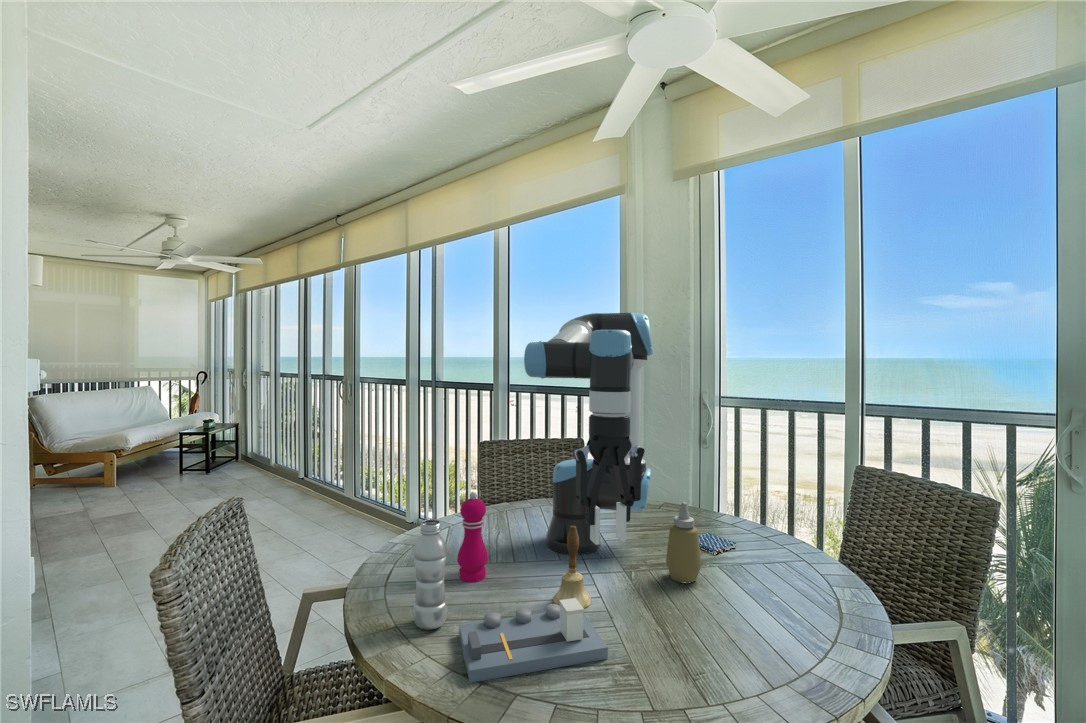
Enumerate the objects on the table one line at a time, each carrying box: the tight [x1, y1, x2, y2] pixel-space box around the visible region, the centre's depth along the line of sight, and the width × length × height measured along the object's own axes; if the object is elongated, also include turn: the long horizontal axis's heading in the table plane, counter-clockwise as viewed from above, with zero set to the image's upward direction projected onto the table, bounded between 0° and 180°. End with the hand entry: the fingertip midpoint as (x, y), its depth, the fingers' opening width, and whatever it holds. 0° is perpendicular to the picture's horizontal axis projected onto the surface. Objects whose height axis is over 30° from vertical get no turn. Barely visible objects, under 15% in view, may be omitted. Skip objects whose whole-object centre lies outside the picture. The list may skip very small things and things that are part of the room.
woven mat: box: [699, 532, 737, 555], centre depth 138 cm, size 10×11×2 cm
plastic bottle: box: [412, 519, 448, 631], centre depth 96 cm, size 6×7×20 cm
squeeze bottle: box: [665, 501, 702, 584], centre depth 118 cm, size 8×8×18 cm
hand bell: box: [552, 526, 593, 609], centre depth 106 cm, size 8×8×16 cm
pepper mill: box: [456, 491, 489, 583], centre depth 117 cm, size 7×7×20 cm
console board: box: [458, 603, 609, 684], centre depth 89 cm, size 24×14×4 cm, turn 106°
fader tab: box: [559, 598, 585, 642], centre depth 89 cm, size 3×4×5 cm
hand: (607, 540), depth 91 cm, fingers open, 4 cm apart
